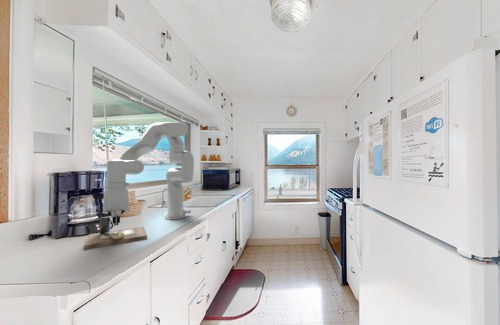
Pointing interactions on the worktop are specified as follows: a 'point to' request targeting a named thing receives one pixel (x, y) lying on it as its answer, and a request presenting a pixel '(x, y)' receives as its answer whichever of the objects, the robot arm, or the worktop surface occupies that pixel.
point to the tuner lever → (105, 229)
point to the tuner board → (105, 240)
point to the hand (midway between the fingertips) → (116, 224)
